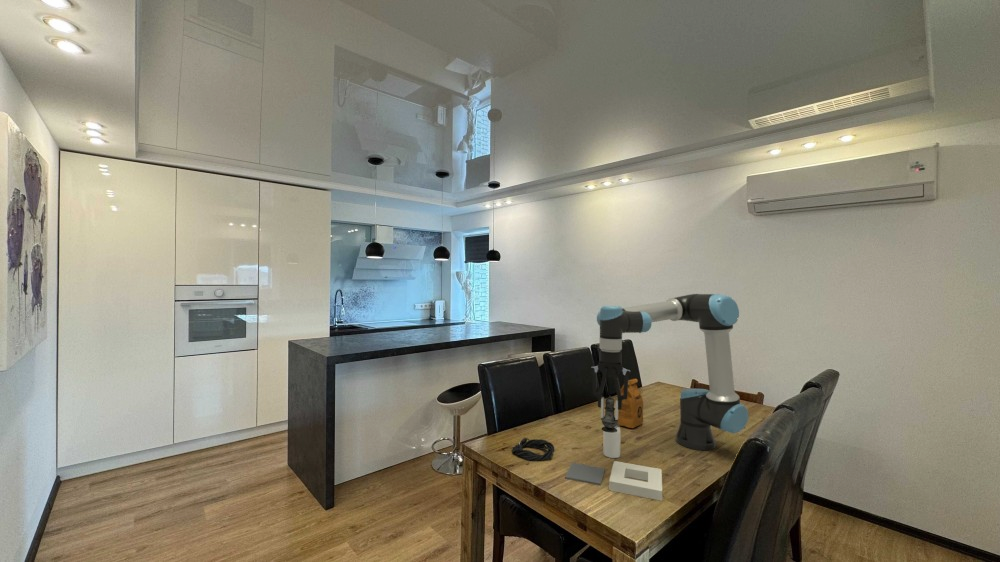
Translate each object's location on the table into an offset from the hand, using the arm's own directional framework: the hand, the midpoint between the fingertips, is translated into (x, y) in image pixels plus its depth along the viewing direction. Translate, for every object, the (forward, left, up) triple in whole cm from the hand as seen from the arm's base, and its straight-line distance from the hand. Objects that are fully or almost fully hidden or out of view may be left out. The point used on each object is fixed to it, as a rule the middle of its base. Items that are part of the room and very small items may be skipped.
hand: (609, 417), depth 134 cm
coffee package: (-4, -59, -21) cm, 63 cm away
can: (+1, -20, -21) cm, 29 cm away
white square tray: (-9, 0, -21) cm, 23 cm away
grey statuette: (0, 0, -4) cm, 4 cm away
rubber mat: (+8, 0, -21) cm, 23 cm away
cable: (+30, -9, -22) cm, 38 cm away
